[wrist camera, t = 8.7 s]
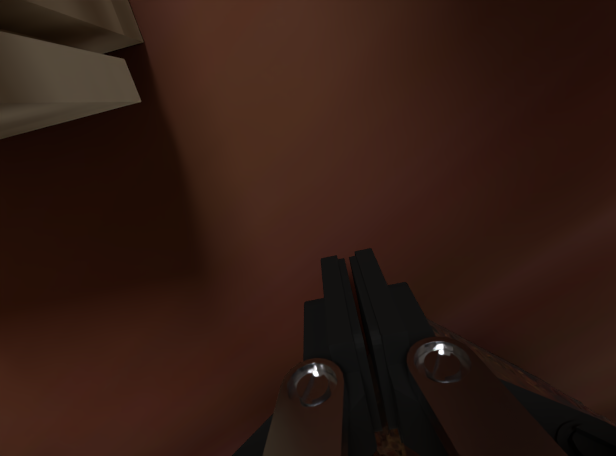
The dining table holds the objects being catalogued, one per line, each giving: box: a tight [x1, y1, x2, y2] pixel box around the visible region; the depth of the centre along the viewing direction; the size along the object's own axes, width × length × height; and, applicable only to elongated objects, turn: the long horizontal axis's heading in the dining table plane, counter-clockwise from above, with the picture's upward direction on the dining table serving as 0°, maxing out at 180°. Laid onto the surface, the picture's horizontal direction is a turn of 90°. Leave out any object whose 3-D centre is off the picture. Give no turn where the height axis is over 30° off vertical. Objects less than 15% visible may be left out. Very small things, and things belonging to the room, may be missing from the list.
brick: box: [367, 318, 616, 456], centre depth 11 cm, size 11×4×5 cm, turn 59°
